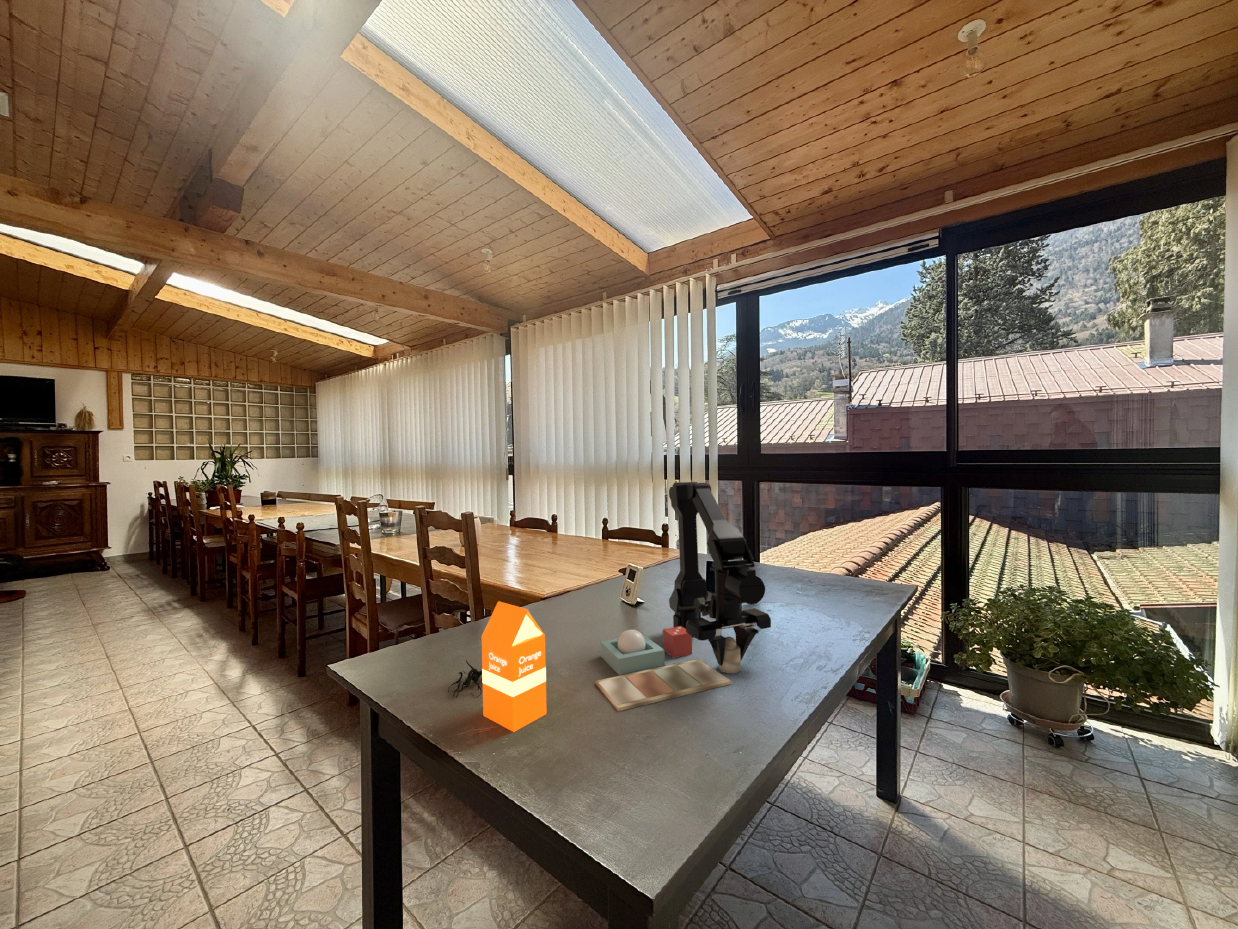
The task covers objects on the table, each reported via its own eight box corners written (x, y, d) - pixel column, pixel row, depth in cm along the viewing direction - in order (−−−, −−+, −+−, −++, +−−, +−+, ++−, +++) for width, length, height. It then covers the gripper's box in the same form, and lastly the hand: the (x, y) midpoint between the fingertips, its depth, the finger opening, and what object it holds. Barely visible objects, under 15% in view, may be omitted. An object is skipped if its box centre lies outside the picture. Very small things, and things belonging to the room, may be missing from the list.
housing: (642, 648, 118) (642, 634, 118) (664, 665, 108) (664, 650, 108) (600, 656, 114) (600, 641, 114) (619, 675, 104) (618, 659, 103)
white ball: (638, 650, 115) (637, 624, 115) (650, 661, 109) (650, 632, 109) (613, 655, 112) (612, 628, 112) (624, 666, 107) (624, 637, 106)
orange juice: (516, 699, 94) (514, 596, 94) (547, 713, 89) (545, 604, 88) (482, 716, 88) (479, 606, 88) (513, 732, 82) (510, 615, 82)
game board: (699, 661, 110) (698, 658, 110) (731, 683, 99) (731, 680, 99) (595, 683, 100) (595, 680, 100) (618, 711, 89) (618, 707, 89)
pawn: (732, 662, 109) (731, 632, 109) (745, 670, 104) (744, 638, 104) (714, 666, 107) (714, 635, 107) (727, 674, 103) (726, 642, 103)
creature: (472, 708, 93) (497, 682, 100) (467, 684, 92) (492, 659, 99) (440, 701, 96) (466, 676, 103) (435, 677, 95) (462, 653, 102)
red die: (681, 646, 119) (680, 625, 119) (692, 653, 114) (691, 632, 114) (663, 649, 117) (662, 628, 117) (673, 657, 112) (673, 635, 112)
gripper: (740, 578, 117) (741, 643, 117) (672, 587, 109) (673, 656, 109) (772, 589, 106) (773, 660, 107) (699, 600, 99) (701, 676, 99)
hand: (729, 662), depth 106 cm, fingers closed on pawn, 5 cm apart
